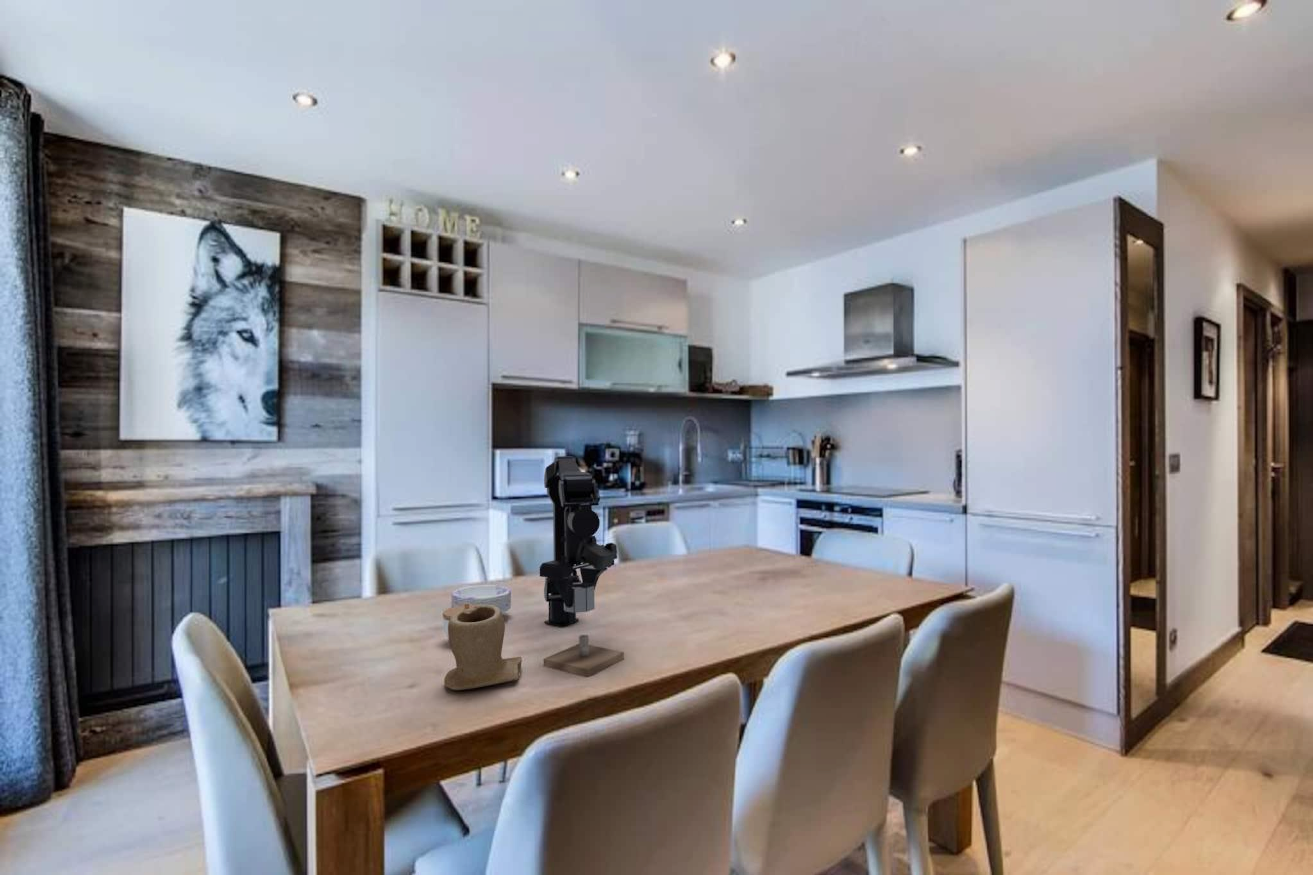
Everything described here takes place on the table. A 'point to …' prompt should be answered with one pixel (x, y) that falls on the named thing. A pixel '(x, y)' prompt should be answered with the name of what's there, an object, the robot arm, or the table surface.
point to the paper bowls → (483, 596)
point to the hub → (582, 598)
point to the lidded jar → (451, 611)
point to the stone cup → (479, 649)
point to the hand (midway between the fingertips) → (579, 604)
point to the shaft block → (583, 658)
